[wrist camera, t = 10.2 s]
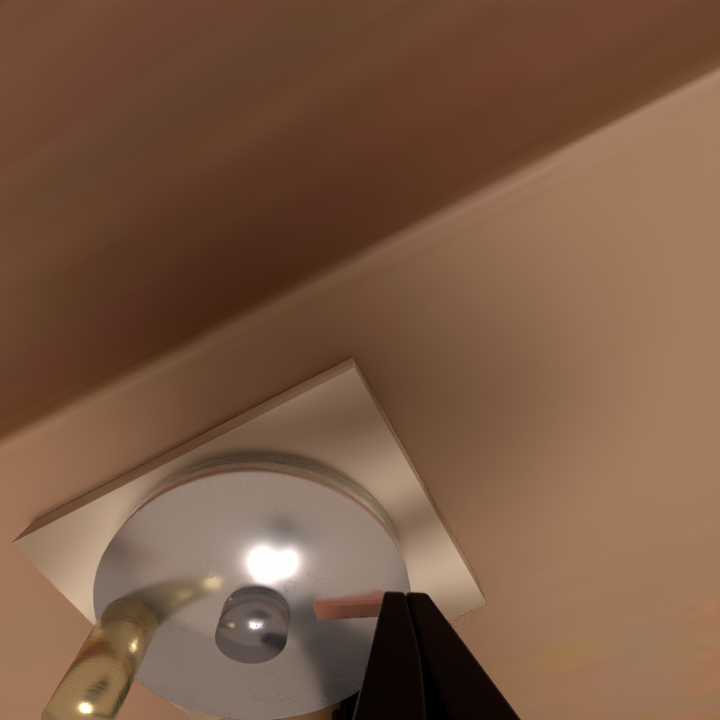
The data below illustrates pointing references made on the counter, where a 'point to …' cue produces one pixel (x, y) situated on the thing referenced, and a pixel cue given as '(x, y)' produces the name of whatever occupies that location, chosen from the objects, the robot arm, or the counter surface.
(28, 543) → the base plate
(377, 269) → the counter surface
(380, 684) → the robot arm
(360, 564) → the handwheel
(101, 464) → the counter surface
